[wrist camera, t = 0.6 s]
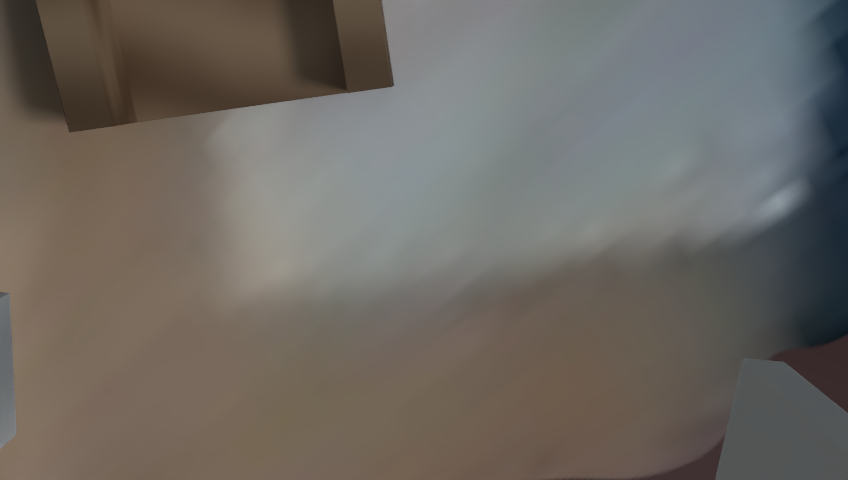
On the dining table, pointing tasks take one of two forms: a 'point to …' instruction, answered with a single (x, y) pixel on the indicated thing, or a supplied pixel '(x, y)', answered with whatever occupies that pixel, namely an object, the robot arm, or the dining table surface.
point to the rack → (208, 54)
